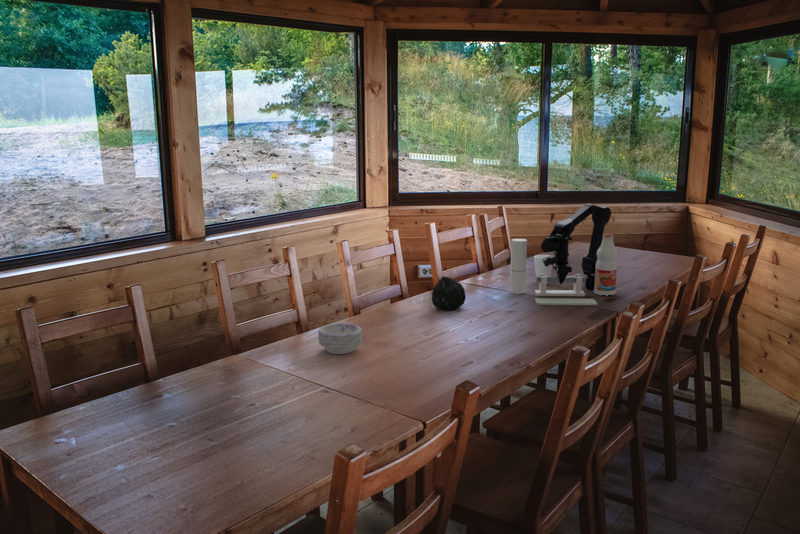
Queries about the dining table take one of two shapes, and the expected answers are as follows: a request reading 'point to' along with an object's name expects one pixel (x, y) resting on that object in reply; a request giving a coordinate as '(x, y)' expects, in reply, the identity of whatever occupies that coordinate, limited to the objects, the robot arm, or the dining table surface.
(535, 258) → the foam cup
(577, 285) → the stand
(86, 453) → the dining table surface
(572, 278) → the metal rail
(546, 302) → the pale sage plank
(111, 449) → the dining table surface
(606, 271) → the fruit juice
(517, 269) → the cylindrical container
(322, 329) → the paper bowls
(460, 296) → the squash
